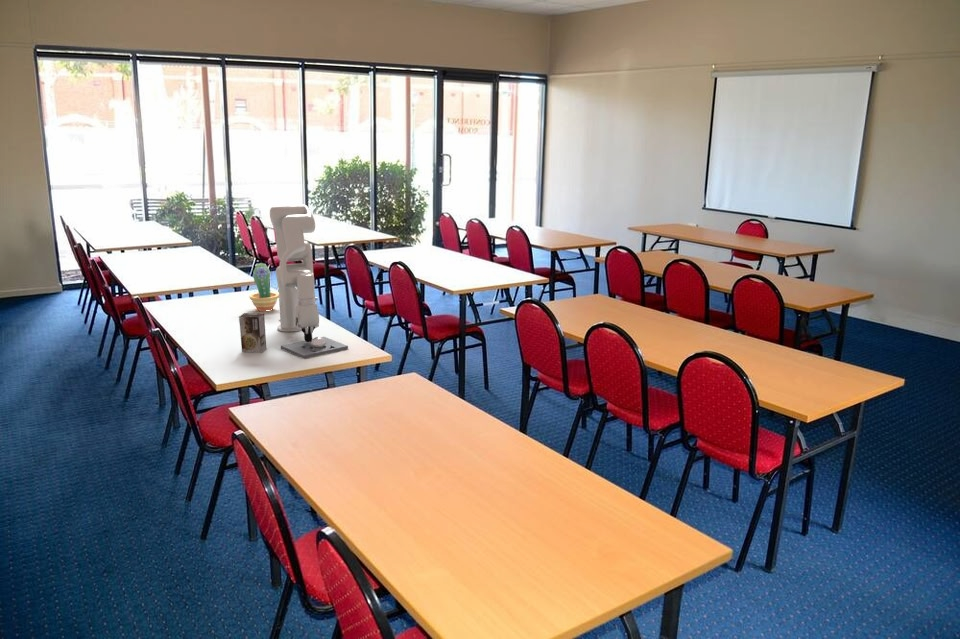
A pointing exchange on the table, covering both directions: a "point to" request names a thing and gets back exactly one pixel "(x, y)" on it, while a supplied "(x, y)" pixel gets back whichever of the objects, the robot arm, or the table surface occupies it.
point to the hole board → (306, 350)
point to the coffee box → (252, 332)
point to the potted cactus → (263, 289)
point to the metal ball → (318, 343)
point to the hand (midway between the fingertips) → (308, 341)
